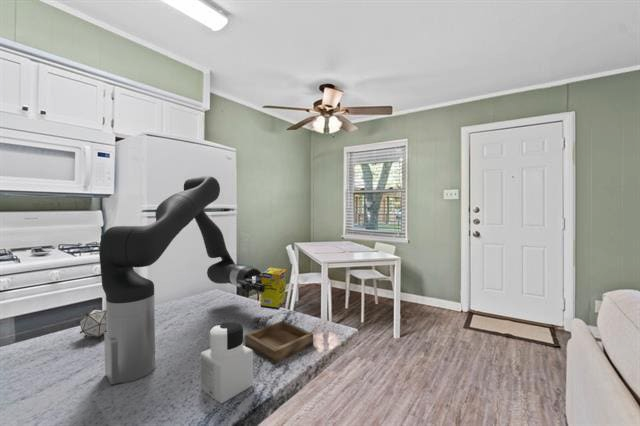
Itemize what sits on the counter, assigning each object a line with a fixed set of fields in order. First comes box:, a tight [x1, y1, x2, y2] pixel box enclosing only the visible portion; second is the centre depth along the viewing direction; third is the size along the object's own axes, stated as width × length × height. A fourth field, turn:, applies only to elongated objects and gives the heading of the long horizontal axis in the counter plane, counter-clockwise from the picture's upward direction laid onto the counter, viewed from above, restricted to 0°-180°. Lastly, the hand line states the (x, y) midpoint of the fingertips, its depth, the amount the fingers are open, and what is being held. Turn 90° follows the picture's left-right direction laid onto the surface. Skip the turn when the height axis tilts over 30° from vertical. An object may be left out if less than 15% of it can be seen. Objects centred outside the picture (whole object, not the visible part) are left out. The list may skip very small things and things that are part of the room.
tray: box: [244, 320, 314, 364], centre depth 79 cm, size 13×13×3 cm
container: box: [200, 321, 254, 404], centre depth 61 cm, size 8×8×13 cm
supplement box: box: [260, 267, 287, 311], centre depth 90 cm, size 6×6×11 cm
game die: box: [76, 306, 107, 340], centre depth 85 cm, size 9×8×10 cm
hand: (274, 286), depth 90 cm, fingers closed on supplement box, 8 cm apart
